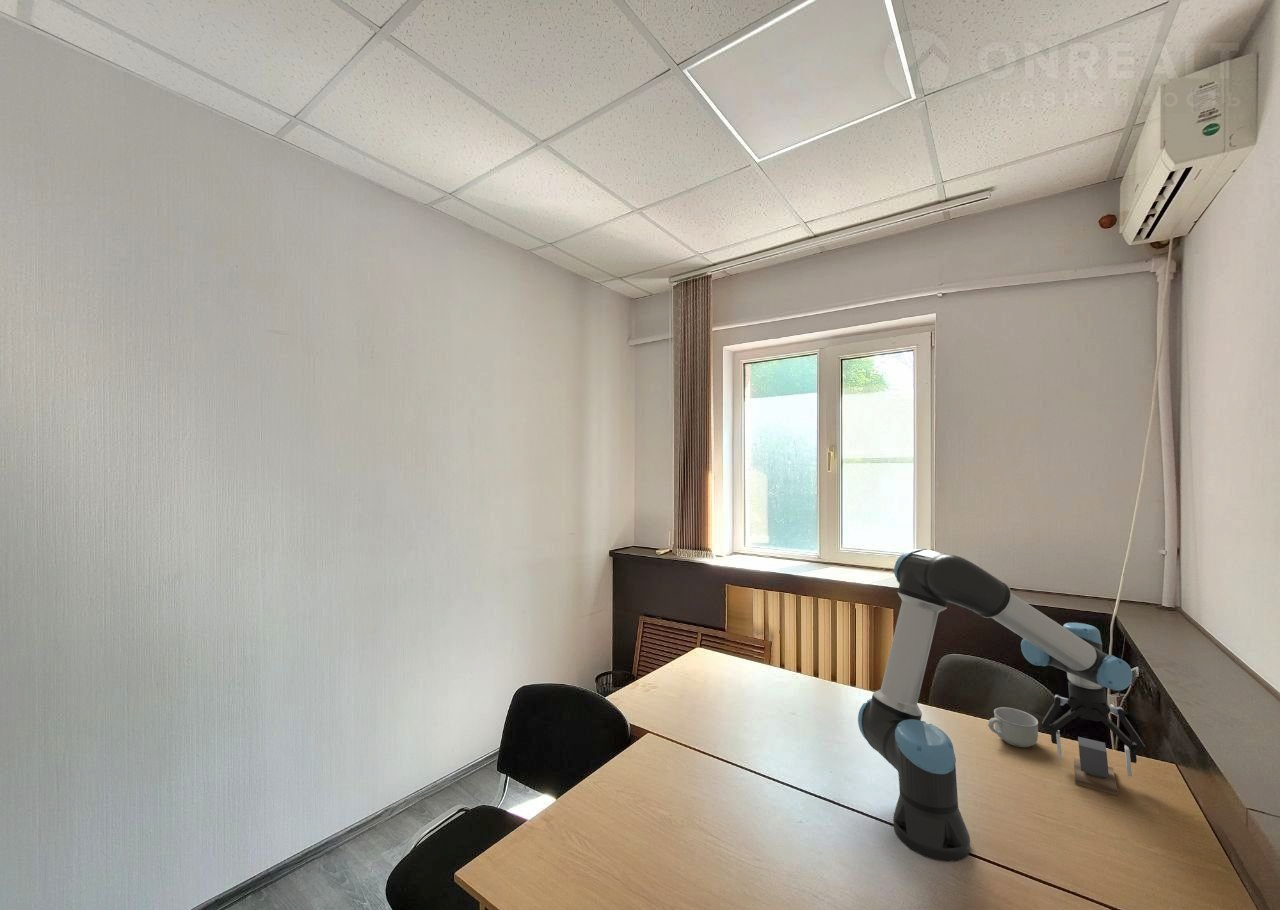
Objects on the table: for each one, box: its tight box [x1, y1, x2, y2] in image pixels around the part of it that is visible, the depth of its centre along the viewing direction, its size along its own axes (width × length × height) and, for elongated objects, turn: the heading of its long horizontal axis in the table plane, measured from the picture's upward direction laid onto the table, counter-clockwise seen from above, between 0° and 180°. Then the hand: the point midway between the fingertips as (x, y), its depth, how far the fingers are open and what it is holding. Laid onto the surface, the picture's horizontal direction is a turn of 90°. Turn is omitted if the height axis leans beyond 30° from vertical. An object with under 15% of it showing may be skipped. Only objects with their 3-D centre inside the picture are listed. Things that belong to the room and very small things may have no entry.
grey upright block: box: [1077, 736, 1109, 778], centre depth 130 cm, size 5×5×7 cm
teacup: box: [987, 706, 1039, 748], centre depth 148 cm, size 14×11×8 cm
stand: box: [1072, 757, 1119, 796], centre depth 130 cm, size 12×8×8 cm, turn 140°
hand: (1093, 764), depth 130 cm, fingers open, 13 cm apart
